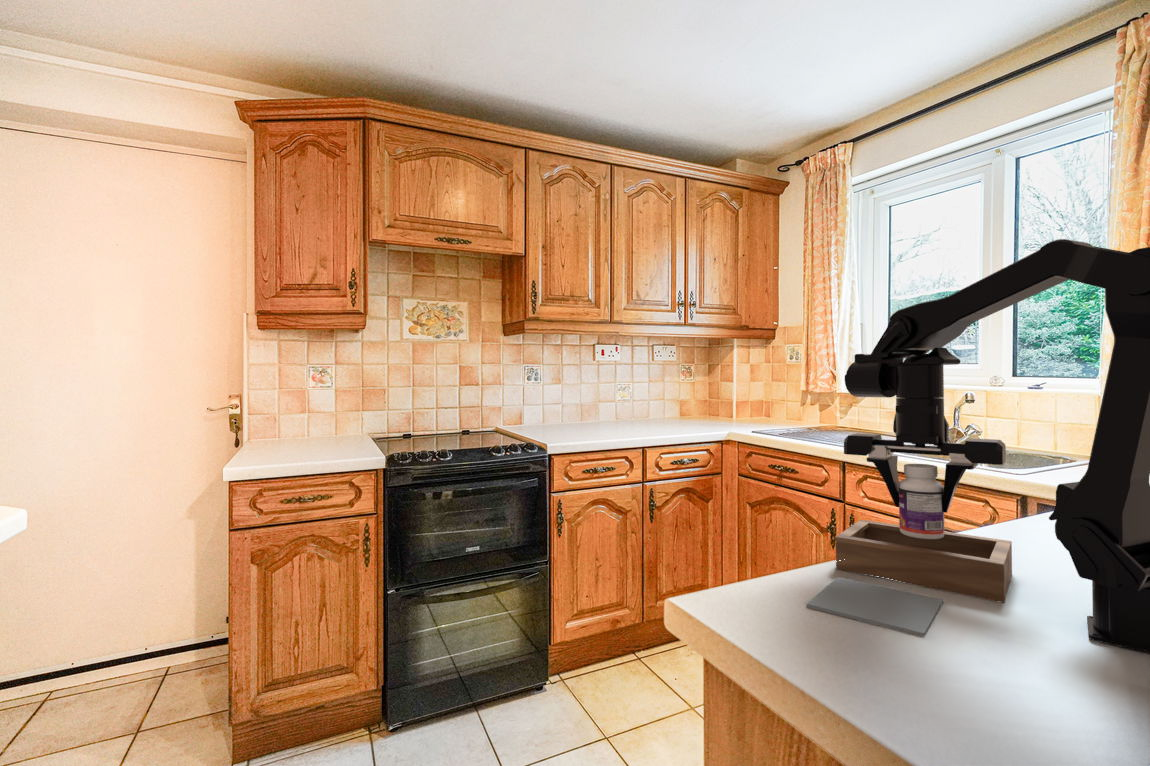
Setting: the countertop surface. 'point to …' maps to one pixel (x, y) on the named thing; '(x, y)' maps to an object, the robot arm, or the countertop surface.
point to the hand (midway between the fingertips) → (921, 509)
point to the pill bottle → (921, 502)
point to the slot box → (928, 559)
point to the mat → (878, 605)
